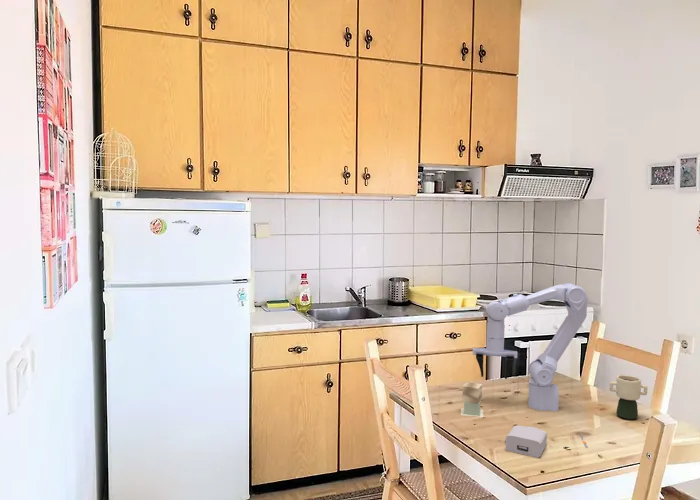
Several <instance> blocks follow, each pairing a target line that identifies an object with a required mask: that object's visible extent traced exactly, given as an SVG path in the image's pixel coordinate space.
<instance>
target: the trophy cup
mask: <svg viewBox="0 0 700 500" xmlns="http://www.w3.org/2000/svg"><path fill="white" fill-rule="evenodd" d="M614 386H615V388H614ZM641 389H643V391H641ZM609 391H610V392H613V393H615V395H616V396H617V397H618V398H619V399H618V402H617V403H618V404H617V408H616V415H617V416H619V417H621V418H624V419H628V420H629V419H630V420H633V419H637V418H638V416H639V409H638V402H637V401H638V400H640V398H641V396H647V394H648V385H646V384H642V379H641V378H640V377H637V376H633V375H629V374H621V375H619V374H618V375H616V380H615V381H610V382H609Z"/></svg>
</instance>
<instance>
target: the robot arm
mask: <svg viewBox="0 0 700 500" xmlns="http://www.w3.org/2000/svg"><path fill="white" fill-rule="evenodd" d="M512 295H513V296H510V297H507V298H504V299H503V298H499V299H498V300H499V301H495V300H494V301H491V302H489V304H488V305H487V306H486V308H485V310H486V311H485V312H486V314H487V320H486V321H487V323H486V342H485V343H486V344H485V345H486V348H485V347H478V348H476V347H472V355H473V356H475V360H476V362H477V364H478V367H479V369H480V370H479V371H480V377H482V378H483V377H484V356H489V357H490V356H491V357H504V358H505V369H504V379H505V380H508V375H509V372H510V370H511V367H512V365H513V363H514V362H515V359H518V351H517V350H510V349H505V328H506V327H505V326H506V325H505V319H506V317H507V316H508V317H510V316H512V315H513V316H514V315H515V314H518V313H522V312H526V311H527V310H528V308H529V307H530V306H532V305H536V304H540V303H543V302H547V301H551V300H557V301H561V302H563V303H564V304H565V307H566V310H567V313H568V314H567V316H566V317H565V318H564V320H563V322H562V323H561V325H560V327H558V330H557V331H556V332H555V334H554V336H553V338H552V339H551V340H550V341H549V343H548V344H547V347H546V348H545V349H544V351H543V352H542V353H540V354H539V355H538V356H537V357H536V359H534V360H533V361H531V362H530V364H529V365H528V367H527V368H528V371H527V372H528V374H529V375H530V376H531V377H530V379H528V402H527V403H528V407H529V408H531V409H534V410H537V411H549V412H550V411H551V412H559V399H560V398H559V386H558V384H554V383H553V382H554V378H555V374H556V371H557V368H558V362H559V360H560V359H561V358H562V356H563V355H564V352H565V351H566V349H567V348H568V346H569V345H570V343H571V341H572V340H573V339H574V337H575V335H576V334H577V333H578V331H579V329H581V327H582V325H583V323H584V322H585V320H586V319H587V314H588V301H589V297H588V295H587V292H586V290H585V289H584V288H583V287H582V286H579V285H577V284H574V283H573V282H565V283H563V284H562V283H561V284H557V285H553V286H550V287H547V288H544V289H542V290H540V291H537V292H534V293H530V294H528V295H524V294H521V293H519V294H518V293H513V294H512Z"/></svg>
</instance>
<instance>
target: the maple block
mask: <svg viewBox="0 0 700 500" xmlns="http://www.w3.org/2000/svg"><path fill="white" fill-rule="evenodd" d="M461 396H462V402H463V403H464V402H469V403H475V404H478V403H479V402H480V403H481V401H482V399H483V384H482V383H476V382H470V381H469V382H468V381H466V382H465V383H464V384H463V385H462V395H461Z"/></svg>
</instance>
